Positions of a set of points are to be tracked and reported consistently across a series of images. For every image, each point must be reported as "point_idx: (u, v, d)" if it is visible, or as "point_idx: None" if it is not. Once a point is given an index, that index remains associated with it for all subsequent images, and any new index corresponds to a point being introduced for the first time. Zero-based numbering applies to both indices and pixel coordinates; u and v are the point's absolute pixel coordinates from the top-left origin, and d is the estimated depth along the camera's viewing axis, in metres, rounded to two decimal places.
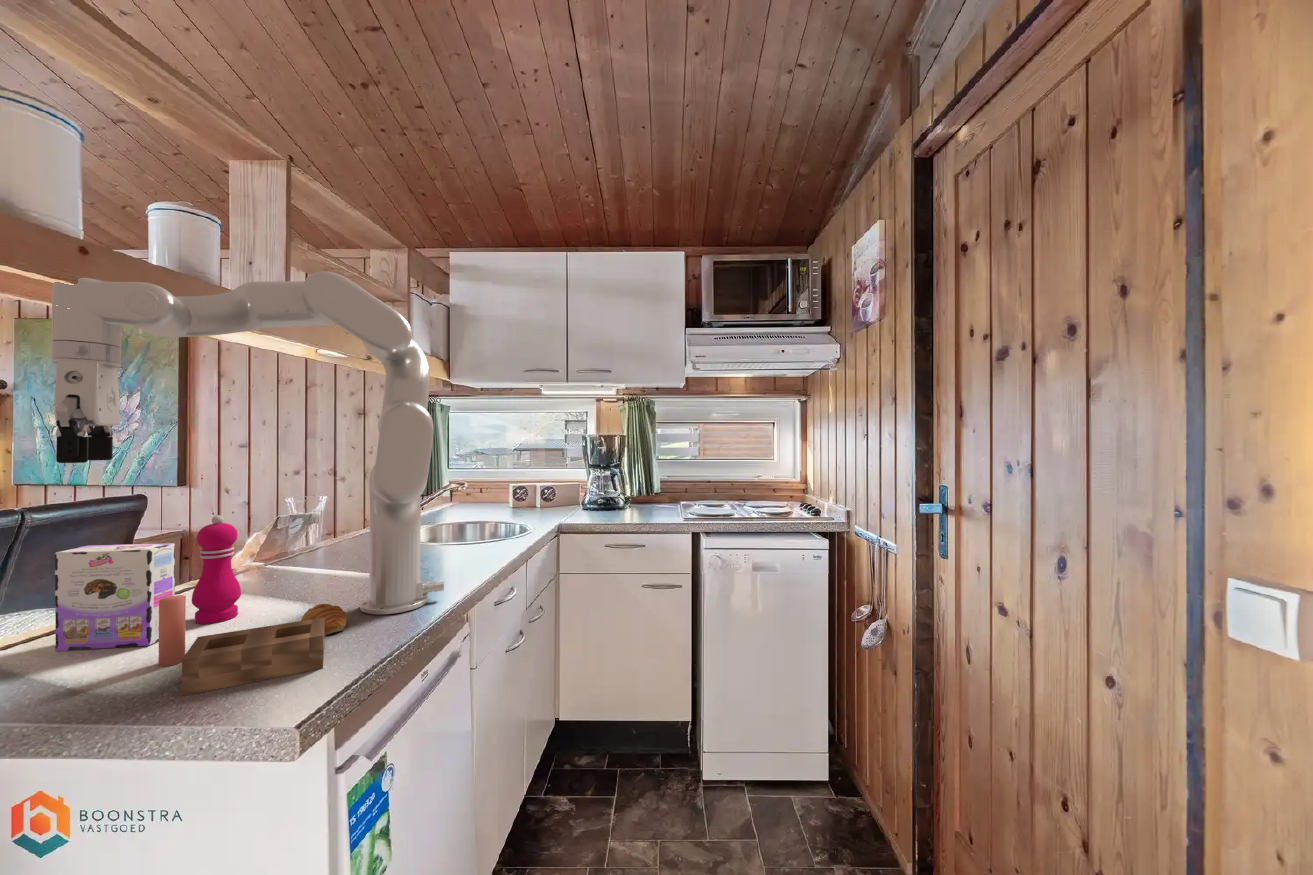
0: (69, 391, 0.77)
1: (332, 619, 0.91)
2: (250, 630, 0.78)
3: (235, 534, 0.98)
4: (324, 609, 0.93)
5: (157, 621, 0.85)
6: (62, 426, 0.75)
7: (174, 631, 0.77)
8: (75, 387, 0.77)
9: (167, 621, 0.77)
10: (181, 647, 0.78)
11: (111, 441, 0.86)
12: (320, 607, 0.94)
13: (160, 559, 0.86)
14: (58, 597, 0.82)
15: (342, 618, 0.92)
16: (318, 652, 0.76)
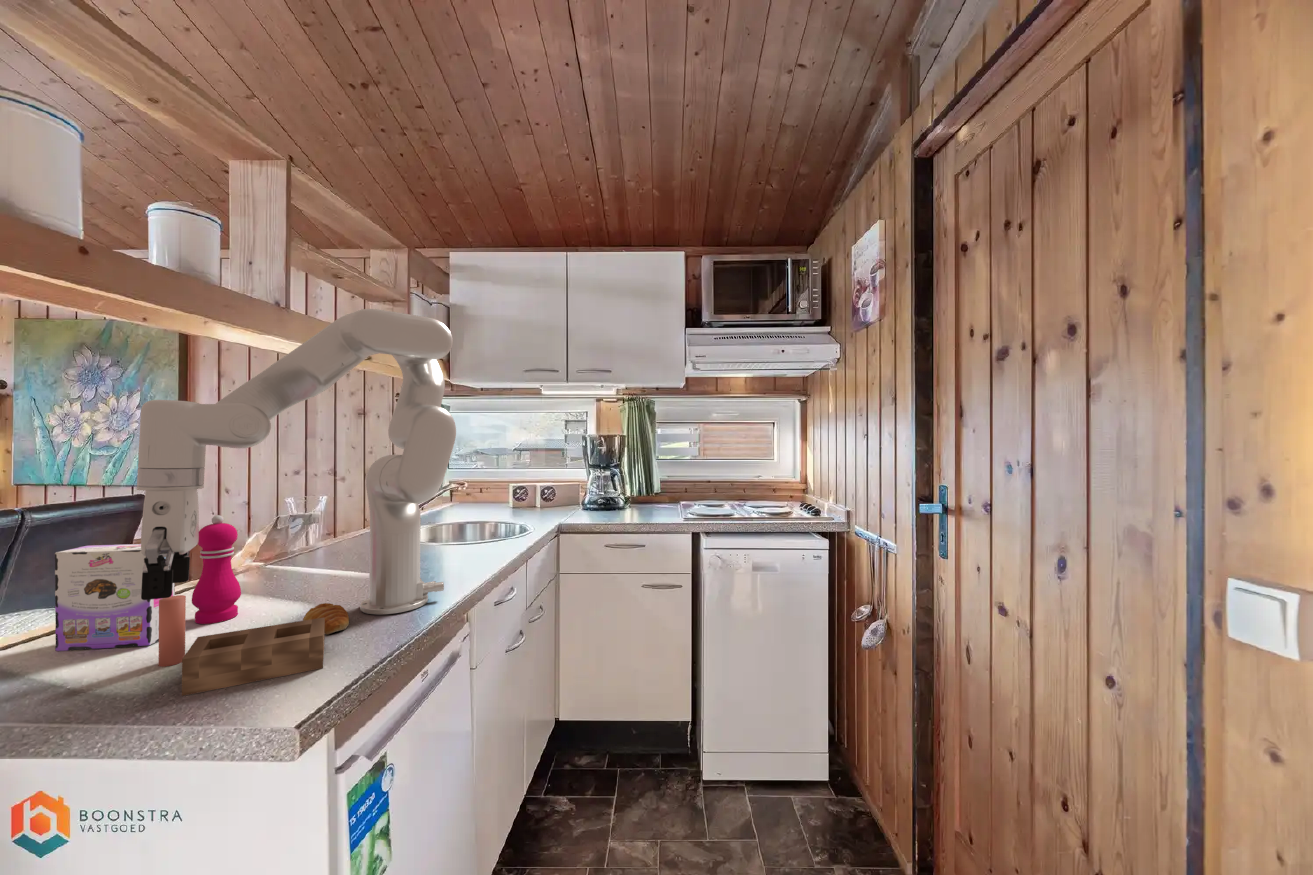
0: (156, 523, 0.74)
1: (335, 618, 0.91)
2: (250, 630, 0.78)
3: (235, 534, 0.98)
4: (327, 609, 0.93)
5: (157, 621, 0.85)
6: (150, 563, 0.72)
7: (174, 631, 0.77)
8: (162, 518, 0.74)
9: (167, 621, 0.77)
10: (181, 647, 0.78)
11: (188, 561, 0.83)
12: (322, 606, 0.95)
13: None
14: (58, 597, 0.82)
15: (345, 617, 0.93)
16: (318, 652, 0.76)
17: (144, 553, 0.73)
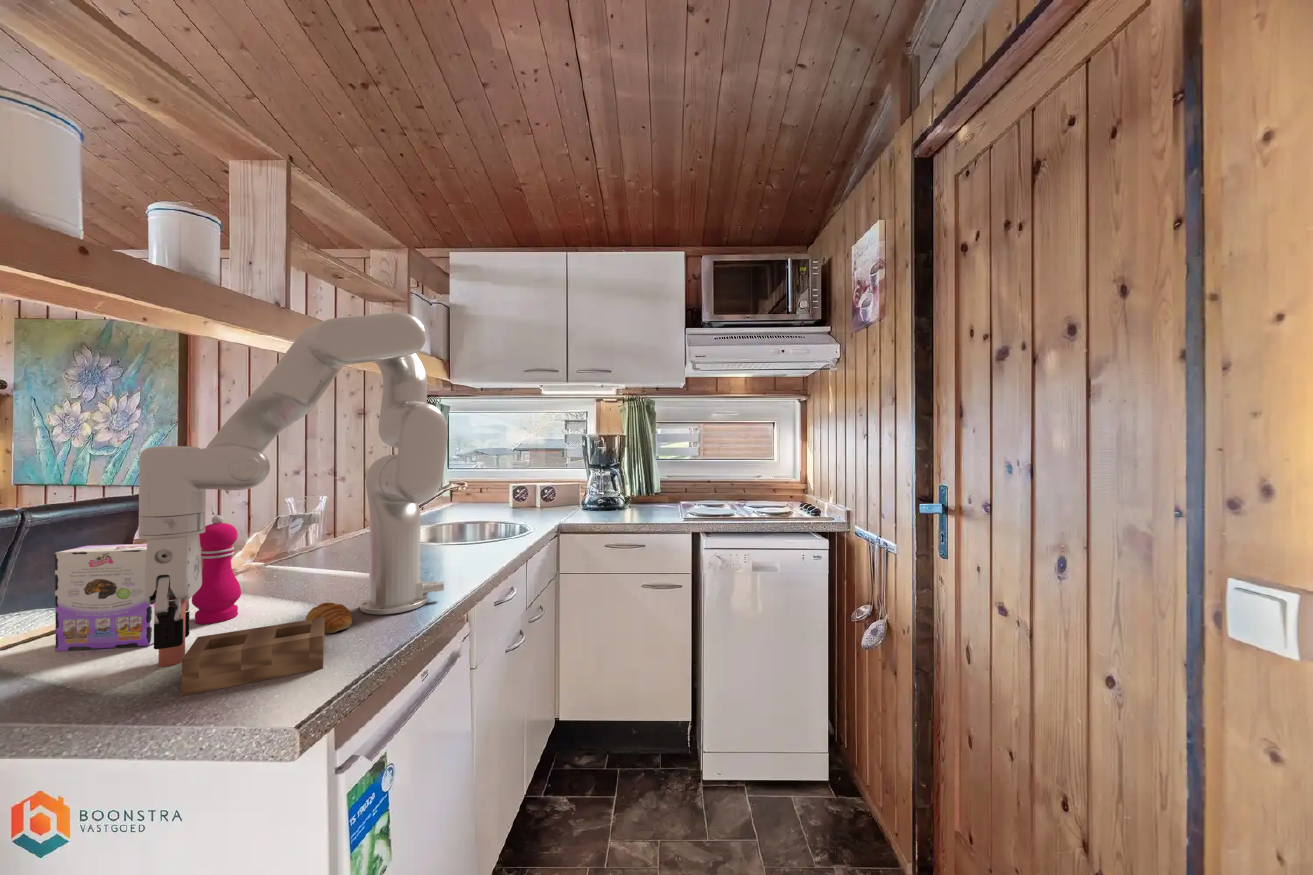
0: (159, 571, 0.74)
1: (338, 617, 0.92)
2: (250, 630, 0.78)
3: (235, 534, 0.98)
4: (329, 608, 0.94)
5: None
6: (162, 615, 0.75)
7: None
8: (165, 567, 0.74)
9: None
10: (181, 647, 0.78)
11: (188, 616, 0.81)
12: (324, 606, 0.95)
13: None
14: (58, 597, 0.82)
15: (348, 616, 0.93)
16: (318, 652, 0.76)
17: (148, 602, 0.73)
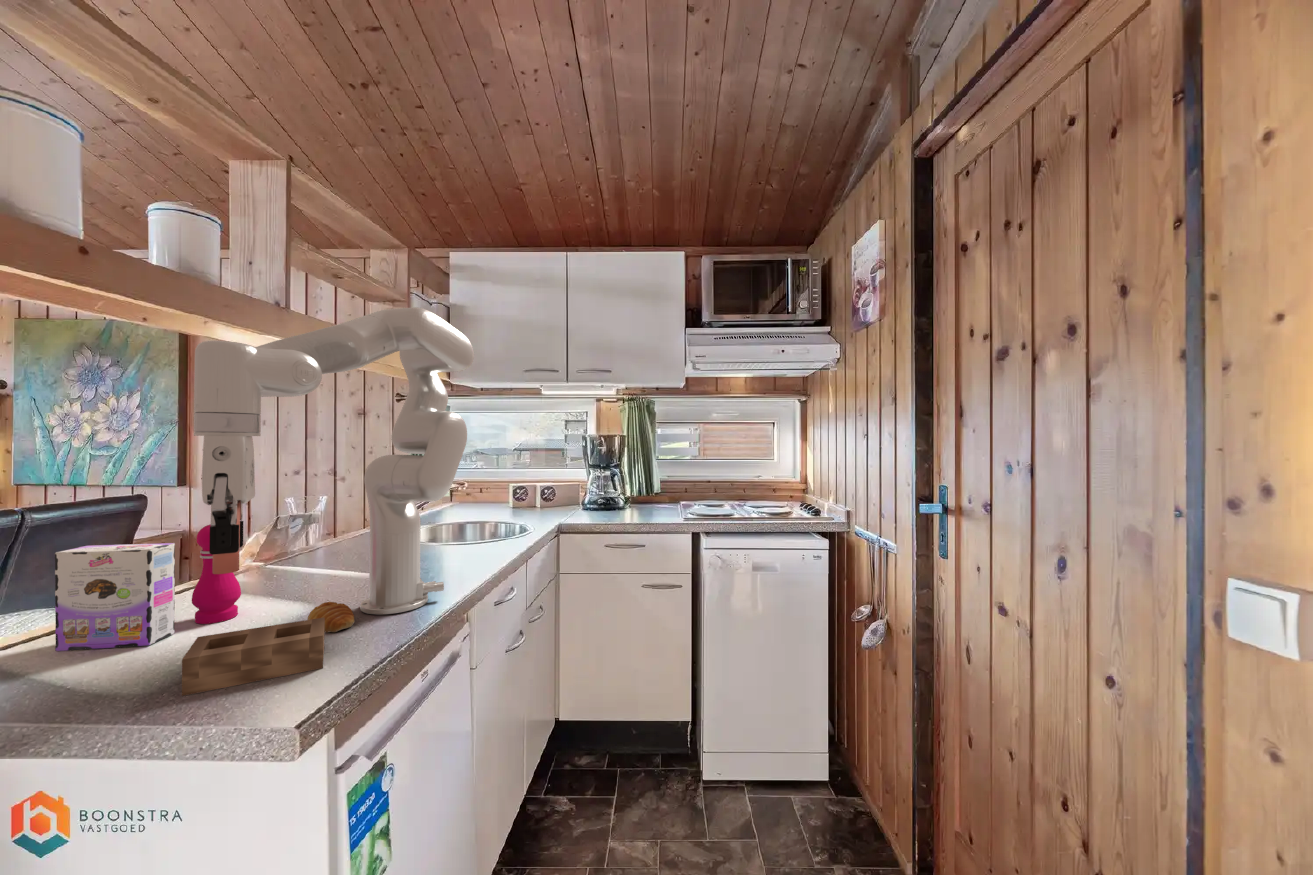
0: (217, 469, 0.70)
1: (341, 616, 0.92)
2: (250, 630, 0.78)
3: None
4: (332, 607, 0.94)
5: (157, 621, 0.85)
6: (219, 517, 0.71)
7: None
8: (223, 464, 0.70)
9: None
10: (236, 555, 0.74)
11: (242, 525, 0.76)
12: (326, 605, 0.96)
13: (160, 559, 0.86)
14: (58, 597, 0.82)
15: (350, 615, 0.94)
16: (318, 652, 0.76)
17: (206, 501, 0.69)
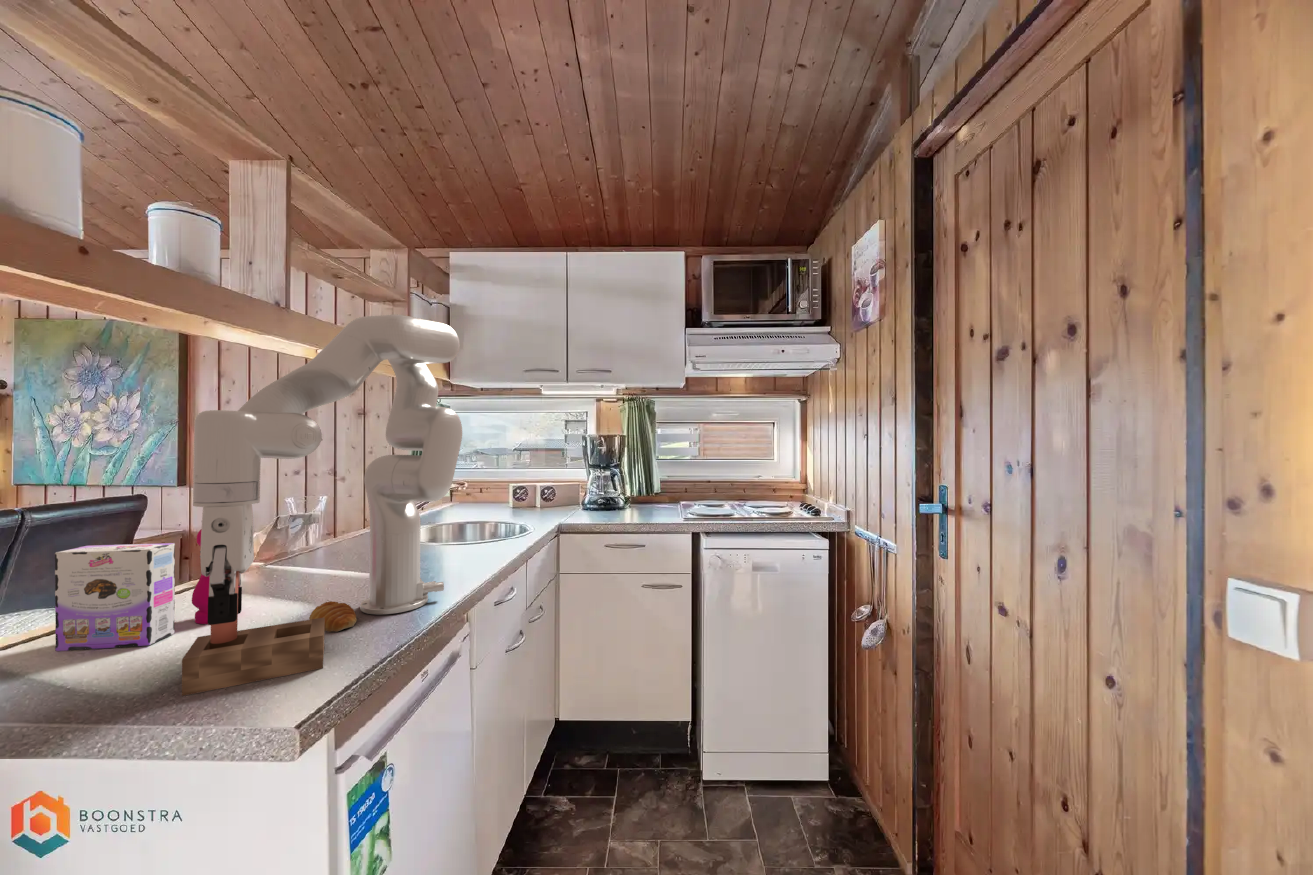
0: (215, 541, 0.70)
1: (343, 615, 0.93)
2: (250, 630, 0.78)
3: None
4: (334, 606, 0.95)
5: (157, 621, 0.85)
6: (217, 588, 0.71)
7: None
8: (222, 536, 0.70)
9: None
10: (234, 623, 0.74)
11: (241, 592, 0.76)
12: (328, 604, 0.96)
13: (160, 559, 0.86)
14: (58, 597, 0.82)
15: (352, 614, 0.94)
16: (318, 652, 0.76)
17: (204, 573, 0.69)
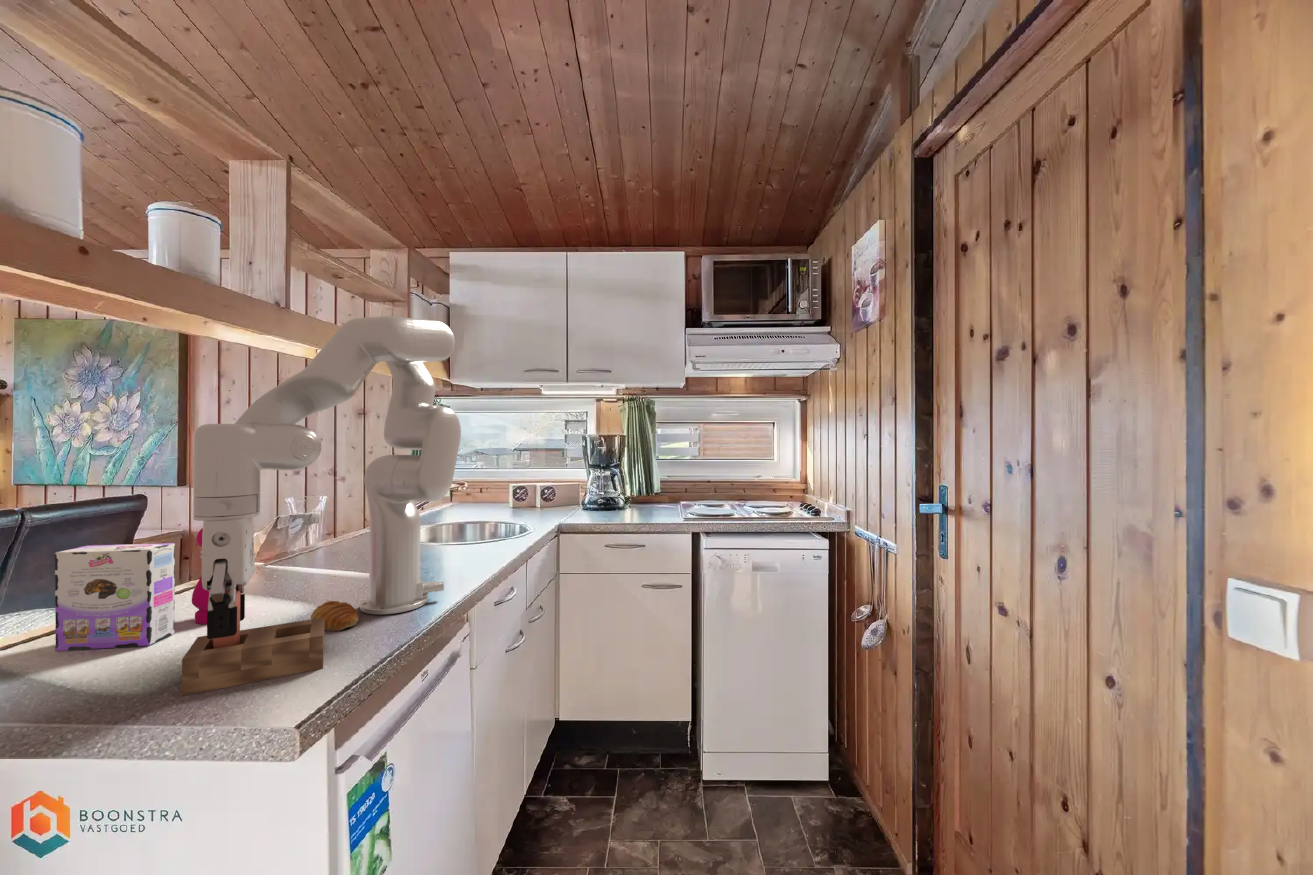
0: (216, 555, 0.70)
1: (346, 614, 0.93)
2: (250, 630, 0.78)
3: None
4: (335, 606, 0.95)
5: (157, 621, 0.85)
6: (216, 602, 0.69)
7: None
8: (223, 550, 0.70)
9: None
10: None
11: (244, 599, 0.78)
12: (329, 604, 0.96)
13: (160, 559, 0.86)
14: (58, 597, 0.82)
15: (354, 613, 0.94)
16: (318, 652, 0.76)
17: (205, 587, 0.69)
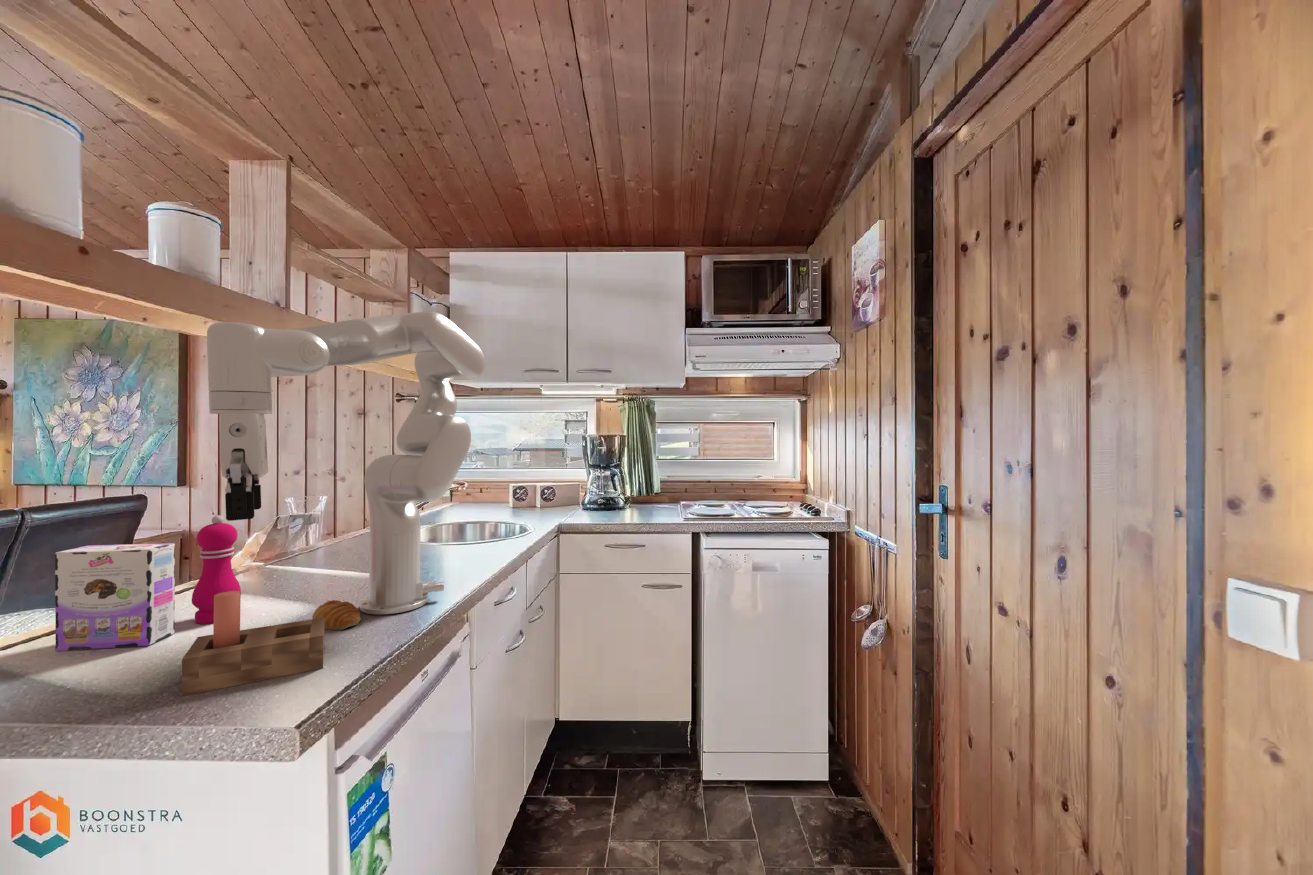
0: (234, 444, 0.73)
1: (348, 613, 0.94)
2: (250, 630, 0.78)
3: (235, 534, 0.98)
4: (337, 605, 0.95)
5: (157, 621, 0.85)
6: (234, 483, 0.72)
7: (229, 629, 0.73)
8: (240, 440, 0.74)
9: (223, 618, 0.73)
10: None
11: (260, 489, 0.83)
12: (331, 603, 0.97)
13: (160, 559, 0.86)
14: (58, 597, 0.82)
15: (356, 612, 0.95)
16: (318, 652, 0.76)
17: (225, 475, 0.73)
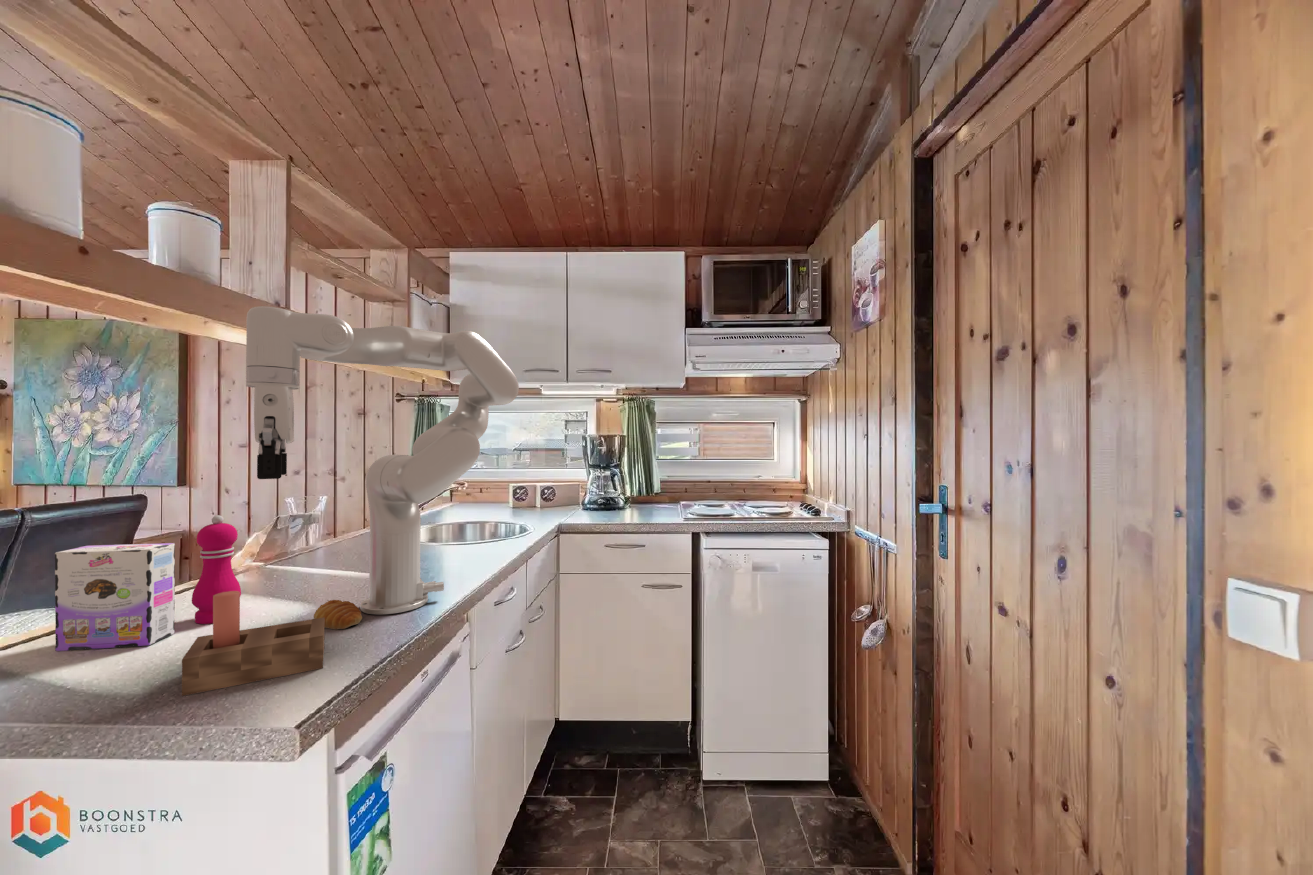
0: (266, 412, 0.84)
1: (349, 612, 0.94)
2: (250, 630, 0.78)
3: (235, 534, 0.98)
4: (338, 604, 0.96)
5: (157, 621, 0.85)
6: (265, 446, 0.82)
7: (229, 629, 0.73)
8: (271, 409, 0.84)
9: (222, 618, 0.73)
10: None
11: (286, 457, 0.93)
12: (332, 603, 0.97)
13: (160, 559, 0.86)
14: (58, 597, 0.82)
15: (358, 612, 0.95)
16: (318, 652, 0.76)
17: (257, 438, 0.83)
